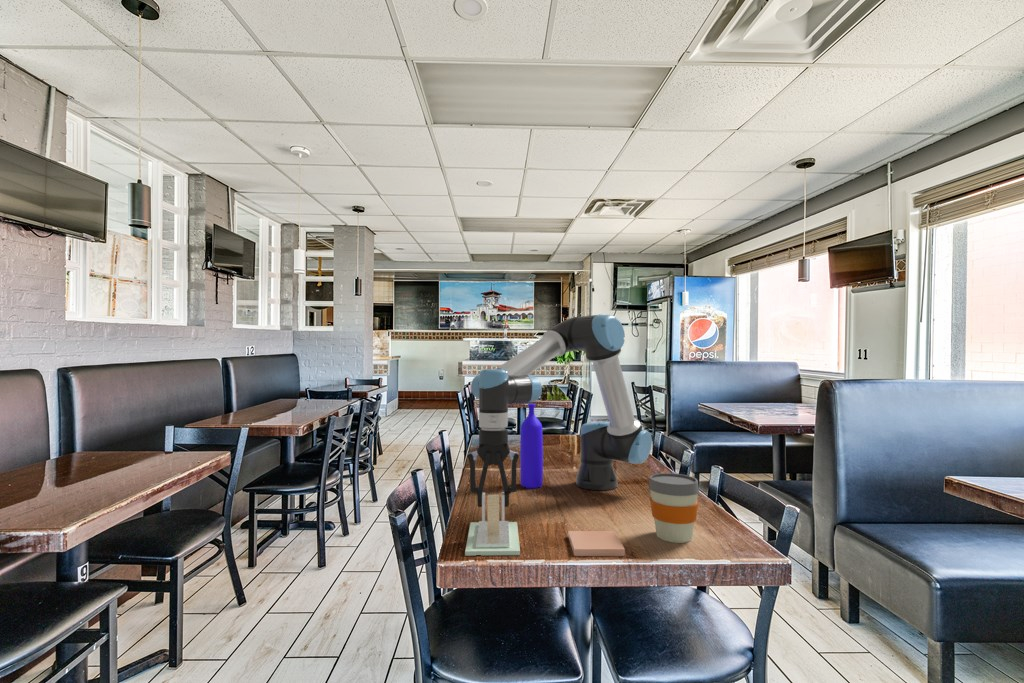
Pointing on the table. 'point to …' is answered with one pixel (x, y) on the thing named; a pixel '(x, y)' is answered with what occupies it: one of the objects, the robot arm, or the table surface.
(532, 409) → the bottle
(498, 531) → the beige post on base
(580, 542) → the tile
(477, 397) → the robot arm
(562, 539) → the table surface
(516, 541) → the rest mat
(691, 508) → the reusable coffee cup
